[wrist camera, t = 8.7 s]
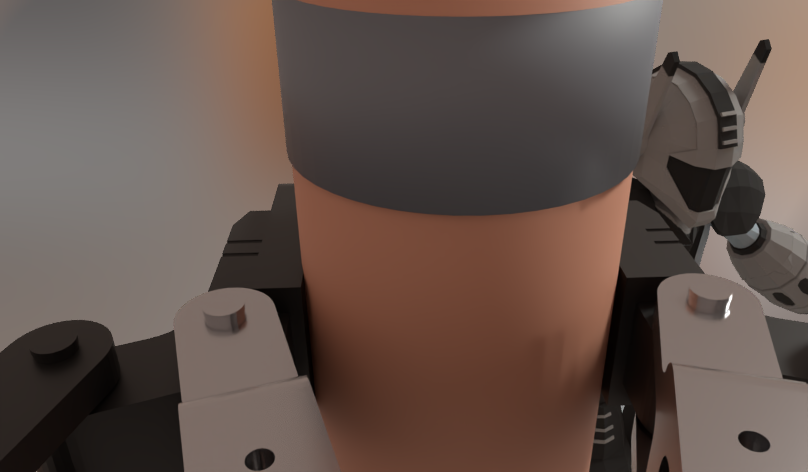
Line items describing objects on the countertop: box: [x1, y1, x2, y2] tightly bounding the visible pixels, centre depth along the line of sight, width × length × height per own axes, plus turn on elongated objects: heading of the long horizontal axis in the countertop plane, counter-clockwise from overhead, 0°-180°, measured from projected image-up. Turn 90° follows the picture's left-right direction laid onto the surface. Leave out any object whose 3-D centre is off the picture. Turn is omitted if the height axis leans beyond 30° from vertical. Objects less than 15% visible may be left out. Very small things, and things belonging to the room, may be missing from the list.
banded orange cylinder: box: [272, 0, 663, 472], centre depth 11 cm, size 4×4×14 cm
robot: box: [589, 39, 808, 472], centre depth 30 cm, size 20×5×20 cm, turn 111°
